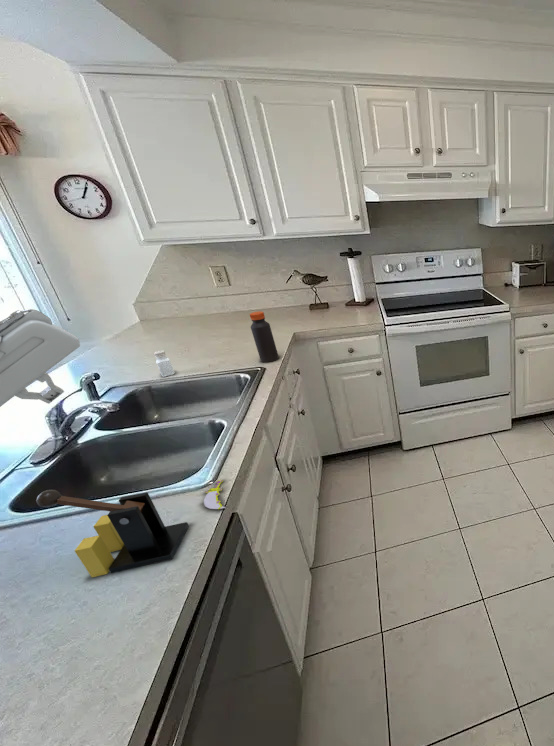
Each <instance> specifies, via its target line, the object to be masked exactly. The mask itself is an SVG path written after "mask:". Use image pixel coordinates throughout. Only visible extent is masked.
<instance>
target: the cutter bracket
mask: <svg viewBox="0 0 554 746" xmlns="http://www.w3.org/2000/svg"><path fill="white" fill-rule="evenodd" d="M126 501H134V502H140V503H145V504H144V508H143V511H142V513H141V511H140V509H139V507H138V506H136V507H131V508H126V509H121V510H116V511H111V512H110V511H108V513H107V514H106V515H107V516H108V517H109V519H110V521H111V522H112V524H113V526H114V528H115V529H116V531H117V533H118V535H119V536H120V538H121V540H122V541H123V543H124V546H123V547H122V549H121V550H119V551H118V554H117V555H116V557H115V558H114V559H115V560H114V561H113V563H112V564H111V566H110V567H109V570H110V571H109V572H110V573H111V574H112V573H118V572H123V571H127V570H131V569H135V568H140V567H143V566H144V567H145V566H148V565H153V564H158V563H162V562H165V561H170V560H173V559H174V556H175V554H176V552H177V550H178V548H179V546H180V545H181V543H182V540H183V538H184V537H185V535H186V532H187V531H188V529H189V526H190V525H189V524H188V522H187V521H186V522H181V523H176V524H175V523H174V524H171V525H166V526H165V523H164V522H163V520H162V518H161V515H160V514H159V512H158V510H157V508H156V505H155V504H154V502H153V500H152V498H151V496H150V494H149V492H148V491H146V492H142V493H141V492H140V493H136V494H131V495H126V496H121V497H120V498H119V499H118V502H119V504H120V505H124V504H125V503H126Z"/></svg>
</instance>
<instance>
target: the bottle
mask: <svg viewBox="0 0 554 746" xmlns="http://www.w3.org/2000/svg"><path fill="white" fill-rule="evenodd" d="M249 317H250V320H251V322H252V324H251V325H250V330H251V334H252V337H253V339H254V343H255V346H256V351H257V354H258V357H259V360H260V362H262V363H271V362H272V363H273V362H275V361H277V360H279V357H280V356H279V353H278V349H277V346H276V342H275V338H274V334H273V332H272V331H273V330H272V327H271V325H270V323H269V322H268V321H266V316H265V313H264V311H259V310H258V311H253V312H250V313H249Z"/></svg>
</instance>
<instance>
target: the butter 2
mask: <svg viewBox="0 0 554 746" xmlns="http://www.w3.org/2000/svg"><path fill="white" fill-rule="evenodd" d="M74 553H75V554H76V556H77V557H78V560H80V562H81V563H82V565H83V566H84V568H85V569H86V571H87V573H88V574H89V575H90V577H91V578H96V577H100V576H105V575H108V574H109V572H110V570H109V567H110V566H111V564H112V563H113V561H114V560H115V558H114V556H113V554H112V552H110V551H109V549H108V548H107V546H106V545H105V543H104V541H103V540H102V538H101V536H100V535H98V534H97V535H94V536H89V537H85V538H83V539H82V540H81V541H80V543H79V544H78V545H77V546H76V547H75V549H74Z"/></svg>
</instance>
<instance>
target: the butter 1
mask: <svg viewBox="0 0 554 746" xmlns="http://www.w3.org/2000/svg"><path fill="white" fill-rule="evenodd" d="M107 515H108V514H104V515H101V516H100V517H99V518H98V520H97V521H96V523H95V524H94V525H93V526H92V528H93V529H94V531H95V533H96V534H97V536H98V535H100V536H101V538H102V540H103V541H104V543H105V545H106V546H107V548H108V549H109V551H110V553H112V552H117V551H118V552H119V551H120V550H121V549H122V547H123V546H124V543H123V541H122V540H121V538H120V536H119V535H118V533H117V531H116V529H115V528H114V526H113V524H112V522H111V521H110V519H109V517H108V516H107Z"/></svg>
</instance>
